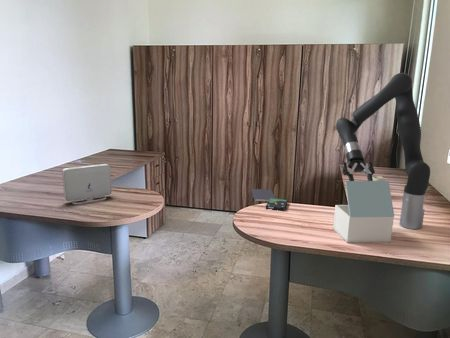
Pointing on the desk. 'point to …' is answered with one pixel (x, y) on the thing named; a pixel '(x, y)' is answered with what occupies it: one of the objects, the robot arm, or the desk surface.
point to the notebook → (262, 194)
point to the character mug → (377, 178)
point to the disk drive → (276, 204)
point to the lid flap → (369, 199)
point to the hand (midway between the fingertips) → (361, 182)
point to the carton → (361, 227)
